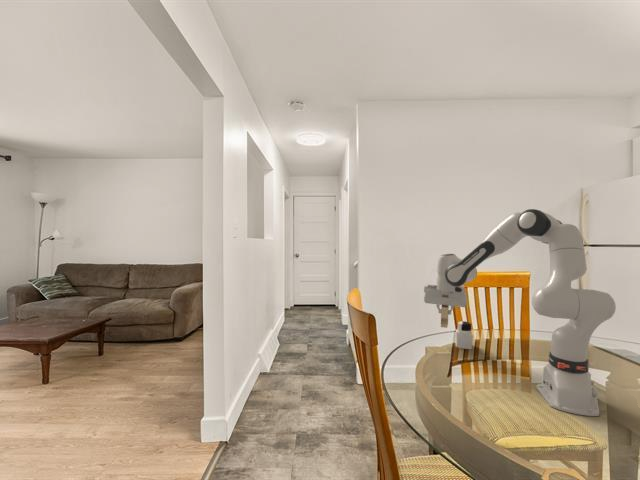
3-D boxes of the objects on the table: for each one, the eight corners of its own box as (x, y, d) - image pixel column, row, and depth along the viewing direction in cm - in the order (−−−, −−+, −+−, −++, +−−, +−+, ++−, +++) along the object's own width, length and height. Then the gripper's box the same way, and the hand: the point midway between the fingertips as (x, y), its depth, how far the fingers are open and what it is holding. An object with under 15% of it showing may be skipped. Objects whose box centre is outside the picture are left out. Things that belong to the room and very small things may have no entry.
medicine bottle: (470, 344, 184) (471, 321, 182) (472, 349, 177) (473, 325, 176) (455, 343, 185) (456, 319, 184) (456, 348, 179) (457, 324, 178)
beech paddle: (447, 327, 181) (448, 295, 179) (440, 327, 182) (441, 295, 181) (447, 324, 186) (449, 293, 185) (441, 323, 188) (442, 292, 186)
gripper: (423, 285, 183) (422, 312, 185) (467, 289, 175) (466, 318, 177) (425, 283, 189) (424, 309, 190) (468, 286, 181) (466, 314, 183)
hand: (444, 313), depth 184 cm, fingers closed on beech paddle, 3 cm apart
